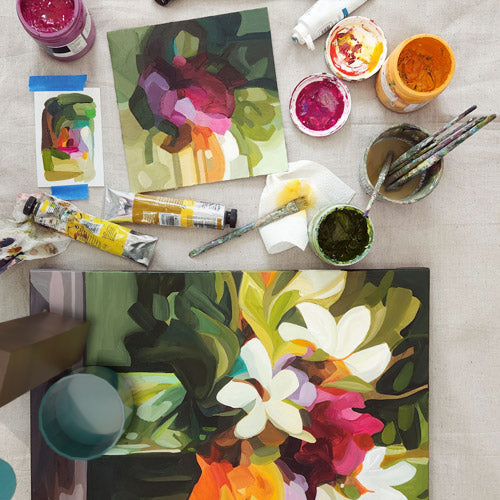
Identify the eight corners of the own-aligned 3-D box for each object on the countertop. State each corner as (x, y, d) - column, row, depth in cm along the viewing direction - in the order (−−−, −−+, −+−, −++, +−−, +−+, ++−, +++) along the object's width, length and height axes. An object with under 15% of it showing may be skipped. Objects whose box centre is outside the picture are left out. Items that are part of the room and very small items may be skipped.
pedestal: (36, 349, 69) (-72, 394, 46) (46, 311, 69) (-57, 335, 46) (81, 361, 69) (-4, 410, 46) (90, 322, 69) (10, 352, 46)
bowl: (45, 435, 69) (29, 449, 64) (65, 356, 69) (50, 363, 64) (123, 455, 69) (112, 470, 64) (142, 375, 69) (134, 384, 64)
